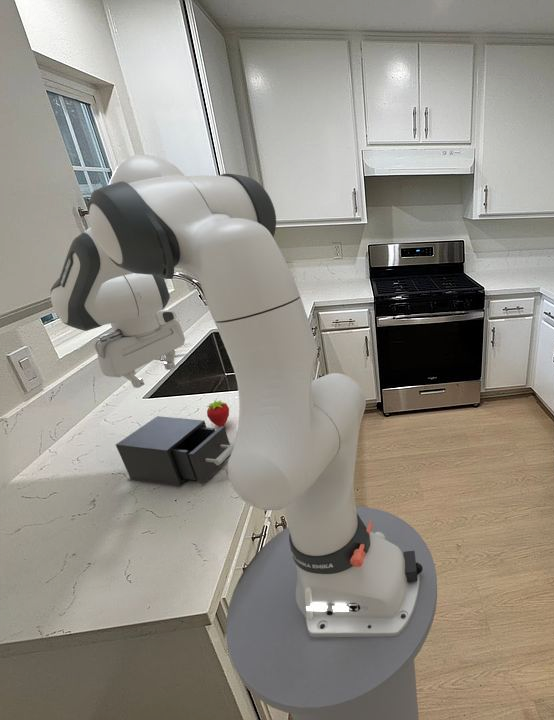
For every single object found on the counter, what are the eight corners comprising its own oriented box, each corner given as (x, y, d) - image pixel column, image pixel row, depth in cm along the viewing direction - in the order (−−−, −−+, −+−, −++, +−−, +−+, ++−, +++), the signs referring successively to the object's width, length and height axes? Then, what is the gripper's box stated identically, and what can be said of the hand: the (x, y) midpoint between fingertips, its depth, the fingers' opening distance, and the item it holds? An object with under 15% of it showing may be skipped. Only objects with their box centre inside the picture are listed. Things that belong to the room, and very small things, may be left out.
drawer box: (215, 453, 105) (204, 420, 101) (180, 485, 94) (166, 450, 89) (169, 448, 108) (157, 416, 104) (130, 479, 97) (115, 444, 92)
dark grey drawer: (246, 455, 102) (239, 427, 98) (218, 486, 92) (208, 456, 88) (189, 449, 106) (179, 422, 102) (155, 478, 96) (143, 449, 92)
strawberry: (233, 418, 121) (225, 390, 117) (232, 431, 114) (224, 401, 110) (213, 422, 119) (204, 394, 115) (210, 436, 113) (201, 406, 108)
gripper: (104, 339, 78) (129, 399, 83) (180, 309, 96) (196, 360, 102) (79, 339, 79) (105, 397, 85) (159, 309, 97) (176, 359, 103)
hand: (155, 377), depth 93 cm, fingers open, 8 cm apart
